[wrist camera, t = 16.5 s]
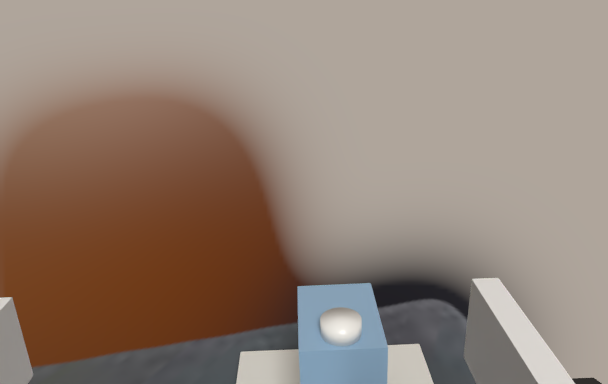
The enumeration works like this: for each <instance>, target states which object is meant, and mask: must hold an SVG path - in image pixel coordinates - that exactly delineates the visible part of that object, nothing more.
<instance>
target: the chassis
mask: <svg viewBox="0 0 608 384" xmlns="http://www.w3.org/2000/svg"><path fill="white" fill-rule="evenodd" d="M387 346H388V372H387V384H433V381H432V378H431V375H430V373H429V370H428V367H427V364H426V362H425V359H424V356H423V353H422V351H421V348H420V345H419V344H407V345H387ZM236 384H300V368H299V349H294V350H272V351H249V352H241V354H240V361H239V368H238V375H237V381H236Z"/></svg>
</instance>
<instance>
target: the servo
mask: <svg viewBox="0 0 608 384" xmlns="http://www.w3.org/2000/svg"><path fill="white" fill-rule="evenodd" d="M298 341H299V368H300V384H387V372H388V346H387V342H386V338H385V335H384V331H383V327H382V324H381V320H380V316H379V313H378V309H377V306H376V302H375V298H374V294H373V291H372V287H371V284H370V283H364V284H342V285H317V286H298Z"/></svg>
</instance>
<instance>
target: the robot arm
mask: <svg viewBox="0 0 608 384" xmlns="http://www.w3.org/2000/svg"><path fill="white" fill-rule="evenodd" d="M464 358H465V361H466V363H467V365H468V367H469V369H470V371H471V373H472V375H473V377H474V379H475V381H476V384H601V383H600V382H599V381H597V380H596V379H594V378H578V379H571V377H570V376H569V375H568V373H567V372H566V370H565V369H564V368H563V366H562V365H561V363H560V362H559V361H558V360H557V358H556V357H555V355H554V354H553V352H552V351H551V350H550V348H549V347H548V346H547V344H546V343H545V341H544V340H543V339H542V337H541V336H540V335H539V333H538V332H537V331H536V330H535V328H534V326H533V325H532V324H531V322H530V321H529V319H528V318H527V317H526V315H525V314H524V313H523V311H522V310H521V309H520V307H519V306H518V304H517V303H516V302H515V300H514V299H513V297H512V296H511V295H510V293H509V292H508V291H507V289H506V288H505V287H504V285H503V284H502V283H501V281H500V280H499V278H485V279H484V278H483V279H472V282H471V292H470V301H469V311H468V321H467V330H466V340H465V349H464ZM32 376H33V372H32V368H31V364H30V361H29V357H28V353H27V350H26V346H25V342H24V339H23V335H22V331H21V328H20V324H19V320H18V317H17V313H16V309H15V306H14V303H13V299H12V297H5V298H0V384H28V383H29V381H30V379H31V378H32Z"/></svg>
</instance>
